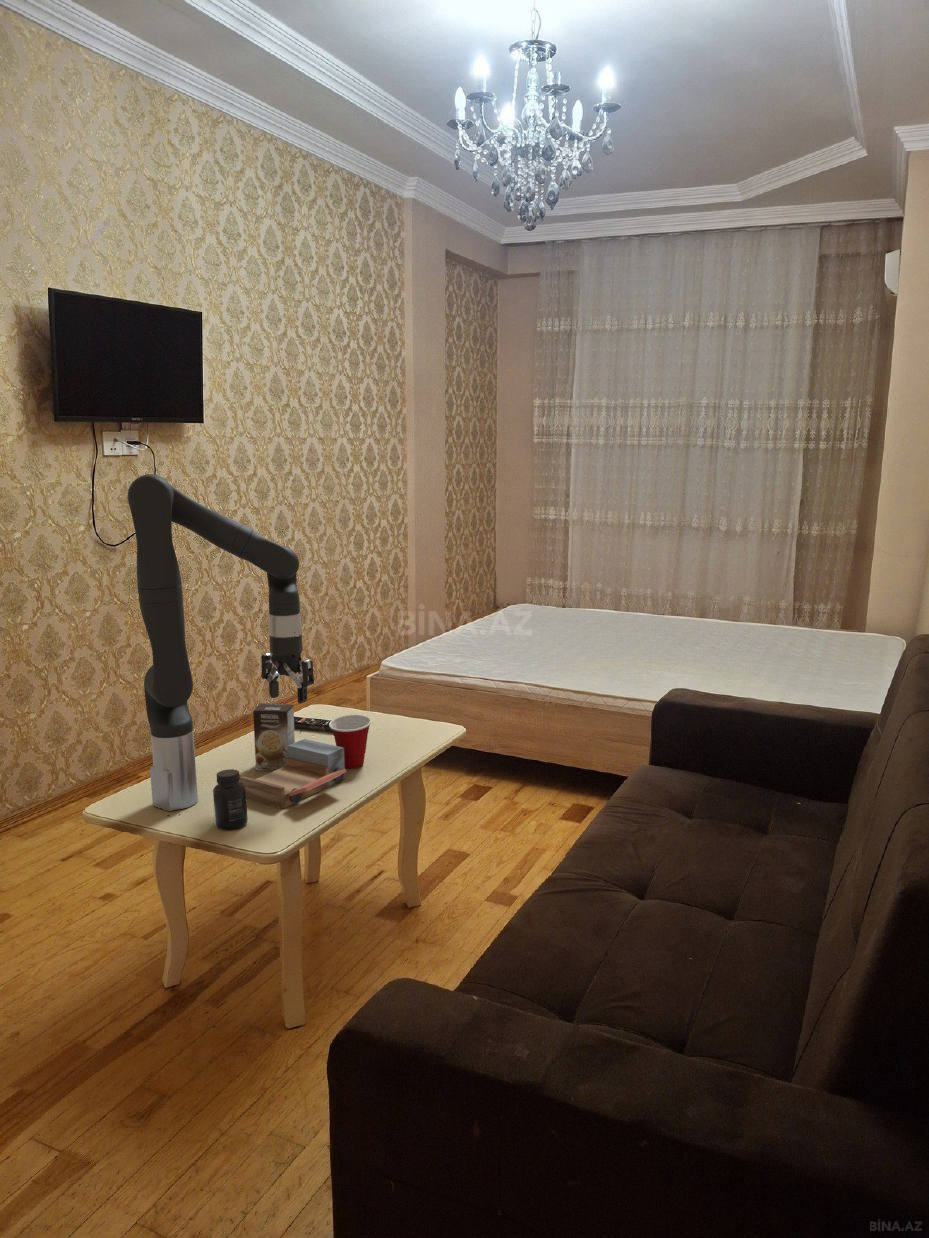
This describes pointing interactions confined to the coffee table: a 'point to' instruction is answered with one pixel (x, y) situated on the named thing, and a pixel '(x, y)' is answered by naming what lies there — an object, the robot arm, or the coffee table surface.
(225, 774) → the supplement bottle
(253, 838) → the coffee table surface
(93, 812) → the coffee table surface
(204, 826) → the coffee table surface
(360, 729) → the plastic cup
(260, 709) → the coffee box
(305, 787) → the panel
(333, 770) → the wooden tray with block
